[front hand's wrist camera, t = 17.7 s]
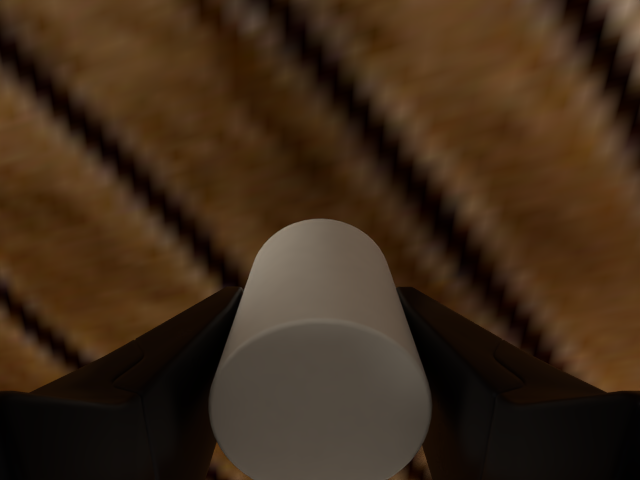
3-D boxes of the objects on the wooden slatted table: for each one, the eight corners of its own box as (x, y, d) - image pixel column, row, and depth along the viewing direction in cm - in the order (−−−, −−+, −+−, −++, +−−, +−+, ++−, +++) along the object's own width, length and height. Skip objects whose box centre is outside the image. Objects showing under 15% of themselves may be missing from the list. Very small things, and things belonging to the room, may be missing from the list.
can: (282, 194, 11) (255, 283, 6) (414, 251, 12) (476, 371, 7) (231, 313, 12) (177, 460, 8) (352, 360, 13) (370, 522, 8)
